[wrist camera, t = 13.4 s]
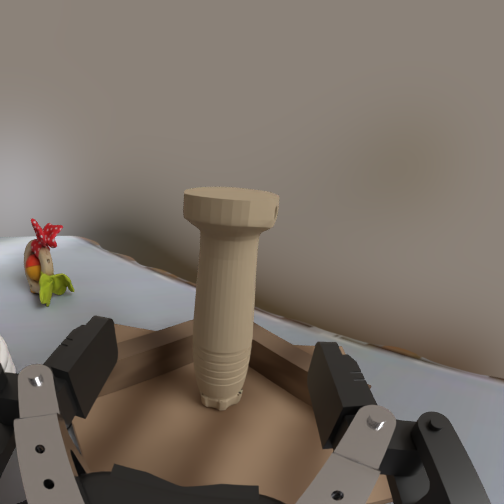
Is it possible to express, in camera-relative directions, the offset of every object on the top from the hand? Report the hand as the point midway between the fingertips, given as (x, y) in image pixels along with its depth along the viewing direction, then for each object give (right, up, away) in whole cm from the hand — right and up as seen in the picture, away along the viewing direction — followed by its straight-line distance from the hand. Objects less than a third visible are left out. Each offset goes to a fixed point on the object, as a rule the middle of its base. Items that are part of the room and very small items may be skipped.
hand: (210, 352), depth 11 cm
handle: (-1, -7, +9) cm, 12 cm away
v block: (-1, -8, +10) cm, 13 cm away
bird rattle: (-26, -2, +20) cm, 33 cm away
